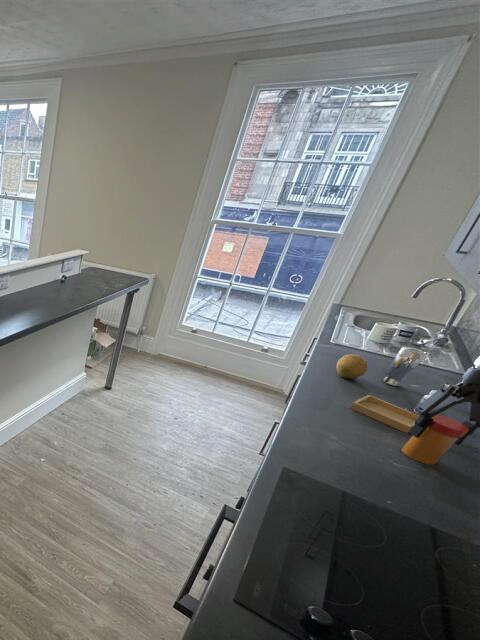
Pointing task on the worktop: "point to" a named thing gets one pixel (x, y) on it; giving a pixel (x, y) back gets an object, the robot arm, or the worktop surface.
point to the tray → (385, 413)
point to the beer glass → (403, 365)
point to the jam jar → (428, 446)
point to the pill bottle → (424, 400)
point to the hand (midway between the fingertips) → (433, 438)
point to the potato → (351, 366)
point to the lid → (448, 426)
